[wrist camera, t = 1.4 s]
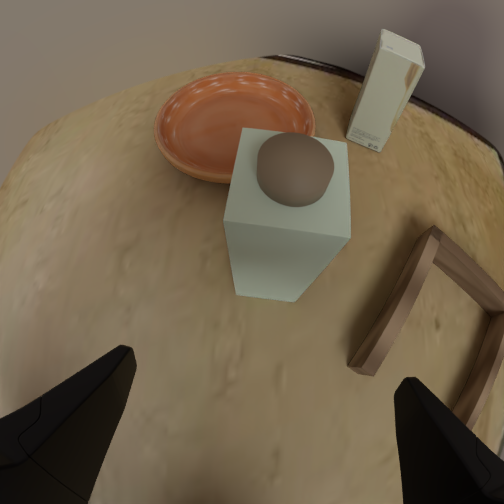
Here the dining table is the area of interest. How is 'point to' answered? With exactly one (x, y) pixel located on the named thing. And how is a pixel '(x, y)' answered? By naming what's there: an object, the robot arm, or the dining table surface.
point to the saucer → (225, 120)
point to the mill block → (285, 212)
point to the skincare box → (385, 90)
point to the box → (403, 298)
